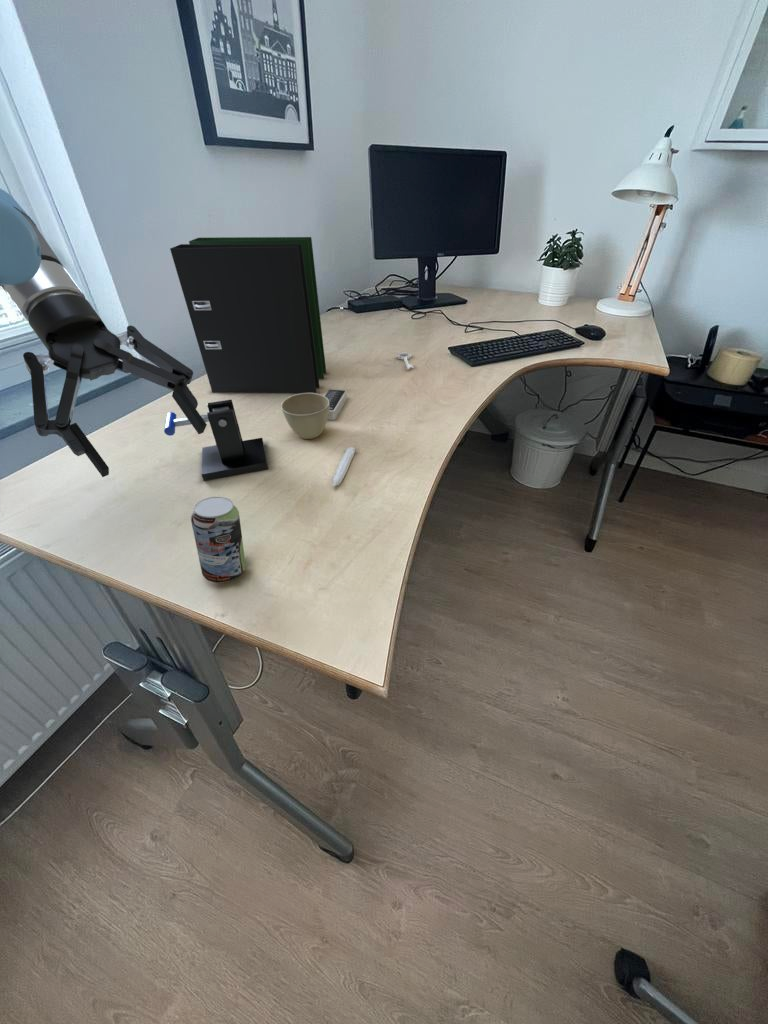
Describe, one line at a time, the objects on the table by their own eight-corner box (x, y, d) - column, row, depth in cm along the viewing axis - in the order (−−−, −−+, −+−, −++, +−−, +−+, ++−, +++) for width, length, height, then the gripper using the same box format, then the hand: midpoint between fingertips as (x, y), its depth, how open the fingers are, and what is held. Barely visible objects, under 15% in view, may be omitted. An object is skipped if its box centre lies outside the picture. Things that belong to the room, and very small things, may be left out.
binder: (326, 372, 120) (312, 236, 99) (315, 395, 108) (295, 248, 88) (232, 370, 122) (198, 237, 101) (211, 393, 111) (168, 249, 90)
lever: (166, 438, 76) (162, 426, 75) (169, 422, 81) (164, 410, 79) (232, 427, 79) (228, 415, 77) (231, 413, 83) (227, 401, 82)
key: (410, 354, 128) (396, 354, 128) (410, 351, 128) (396, 351, 128) (415, 370, 119) (400, 370, 119) (415, 366, 119) (400, 367, 119)
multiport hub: (347, 399, 107) (346, 390, 105) (334, 420, 98) (333, 411, 97) (329, 397, 107) (329, 389, 106) (316, 418, 99) (315, 409, 98)
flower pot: (277, 440, 92) (271, 409, 88) (301, 419, 99) (297, 389, 95) (318, 449, 89) (314, 418, 84) (340, 426, 96) (337, 396, 91)
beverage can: (195, 580, 62) (167, 517, 55) (230, 548, 67) (208, 486, 60) (229, 595, 60) (204, 532, 53) (262, 560, 65) (244, 497, 58)
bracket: (203, 480, 81) (183, 424, 74) (204, 453, 89) (186, 400, 81) (268, 469, 84) (255, 413, 76) (263, 443, 91) (251, 390, 84)
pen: (330, 491, 78) (329, 483, 77) (349, 450, 89) (348, 443, 88) (338, 492, 78) (337, 484, 77) (356, 450, 88) (356, 443, 87)
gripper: (149, 307, 66) (230, 425, 68) (-52, 355, 52) (59, 502, 54) (153, 272, 60) (242, 403, 62) (-73, 316, 46) (53, 484, 48)
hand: (157, 450), depth 58 cm, fingers open, 13 cm apart
